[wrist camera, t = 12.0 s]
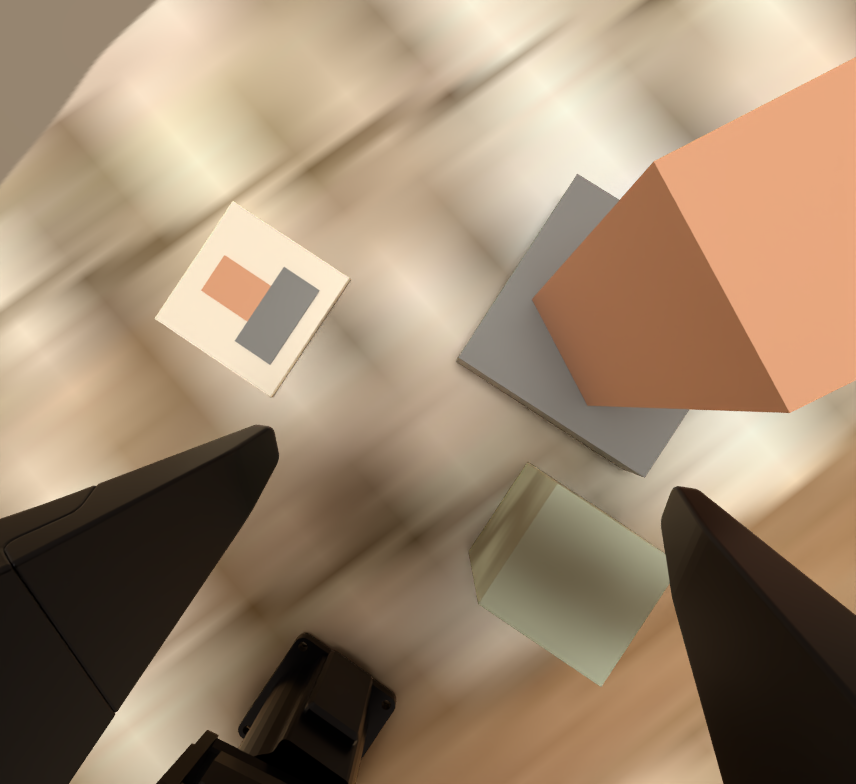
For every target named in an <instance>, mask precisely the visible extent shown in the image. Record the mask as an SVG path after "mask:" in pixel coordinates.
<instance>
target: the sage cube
mask: <svg viewBox="0 0 856 784" xmlns="http://www.w3.org/2000/svg"><path fill="white" fill-rule="evenodd" d="M469 556H470V562H471V567H472V573H473V578H474V584H475V589H476V594H477V600H478V604H479V605H480V606H482V607H483V608H485V609H486V610H488V611H489V612H491V613H492V614H494V615H495V616H497V617H498V618H500V619H501V620H503V621H504V622H506V623H507V624H508V625H510V626H511V627H513V628H514V629H516V630H517V631H519V632H520V633H522V634H523V635H525V636H526V637H528V638H529V639H531V640H532V641H534V642H535V643H537V644H538V645H540V646H541V647H543V648H544V649H546V650H547V651H549V652H550V653H551V654H553V655H554V656H556V657H557V658H559V659H560V660H562V661H563V662H565V663H566V664H568V665H569V666H571V667H572V668H574V669H575V670H577V671H578V672H580V673H581V674H583V675H584V676H586V677H587V678H589V679H590V680H591V681H593V682H594V683H596V684H597V685H599V686H600V687H602V685H603V684H604V682H605V680H606V679H607V677H608V676H609V674H610V673H611V671H612V670H613V668H614V667H615V665H616V664H617V662H618V661H619V659H620V658H621V656H622V655H623V653H624V652H625V650H626V649H627V647H628V646H629V644H630V643H631V641H632V639H633V638H634V636H635V635H636V633H637V632H638V630H639V629H640V627H641V626H642V624H643V623H644V621H645V620H646V618H647V617H648V615H649V614H650V612H651V611H652V609H653V608H654V606H655V605H656V603H657V602H658V600H659V599H660V597H661V595H662V594H663V592H664V591H665V589H666V588H667V586H668V585H669V583H670V581H669V575H668V568H667V562H666V555H665V553H664V552H662V551H661V550H659V549H658V548H656V547H655V546H654V545H652V544H651V543H649V542H648V541H646V540H645V539H643V538H642V537H640V536H639V535H638V534H636V533H635V532H633V531H632V530H630V529H629V528H627V527H626V526H624V525H623V524H622V523H620V522H619V521H617V520H616V519H614V518H613V517H611V516H609V515H608V514H606V513H605V512H603V511H602V510H600V509H599V508H597V507H596V506H594V505H593V504H591V503H590V502H588V501H587V500H585V499H584V498H582V497H581V496H579V495H578V494H576V493H574V492H573V491H571V490H570V489H568V488H567V487H565V486H564V485H562V484H561V483H559V482H558V481H556V480H555V479H553V478H552V477H550V476H549V475H547V474H546V473H544V472H543V471H541V470H539V469H538V468H536V467H535V466H533V465H532V464H530V463H529V462H527V464H526V465H525V467H524V468H523V470H522V471H521V473H520V474H519V476H518V477H517V479H516V480H515V482H514V483H513V485H512V486H511V488H510V490H509V491H508V493H507V494H506V496H505V497H504V499H503V500H502V502H501V503H500V505H499V506H498V508H497V509H496V511H495V512H494V514H493V515H492V517H491V518H490V520H489V521H488V523H487V524H486V526H485V528H484V529H483V531H482V532H481V534H480V535H479V537H478V538H477V540H476V541H475V543H474V544H473V546H472V547H471V549H470V550H469Z"/></svg>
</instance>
